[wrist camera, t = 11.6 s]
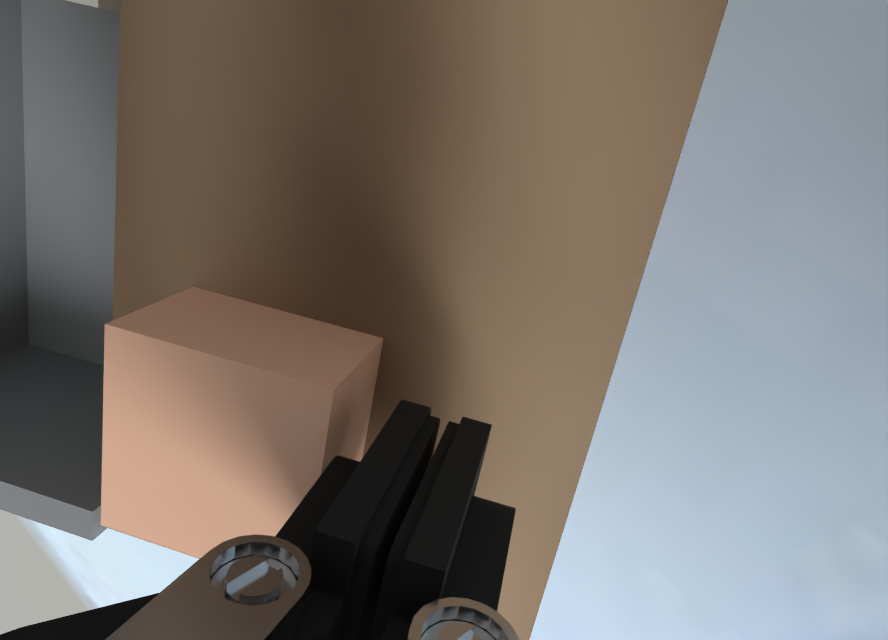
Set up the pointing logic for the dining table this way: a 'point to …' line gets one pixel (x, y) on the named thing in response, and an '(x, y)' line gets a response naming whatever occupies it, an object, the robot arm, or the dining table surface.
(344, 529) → the robot arm
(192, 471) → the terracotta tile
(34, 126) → the box
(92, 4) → the cream block
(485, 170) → the bench plate
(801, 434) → the dining table surface
